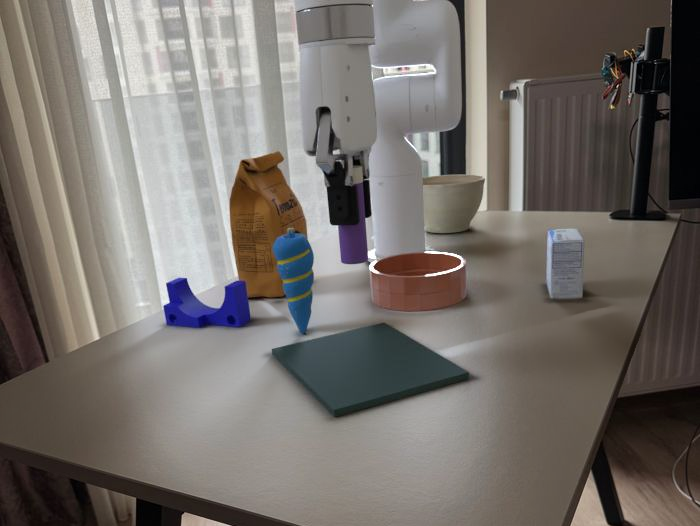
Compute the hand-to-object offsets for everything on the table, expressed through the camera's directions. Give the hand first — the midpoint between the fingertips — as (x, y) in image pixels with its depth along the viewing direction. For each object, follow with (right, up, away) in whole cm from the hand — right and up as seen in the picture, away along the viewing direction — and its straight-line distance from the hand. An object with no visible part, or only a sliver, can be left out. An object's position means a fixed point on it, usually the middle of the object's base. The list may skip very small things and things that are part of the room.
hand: (351, 219), depth 70 cm
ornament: (-7, -12, +19) cm, 23 cm away
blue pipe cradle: (-21, -10, +26) cm, 35 cm away
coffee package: (-12, -4, +39) cm, 41 cm away
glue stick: (0, -4, +2) cm, 5 cm away
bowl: (+10, -6, +28) cm, 31 cm away
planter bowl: (+21, +12, +73) cm, 77 cm away
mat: (+1, -16, +6) cm, 17 cm away
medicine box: (+31, -6, +25) cm, 41 cm away
